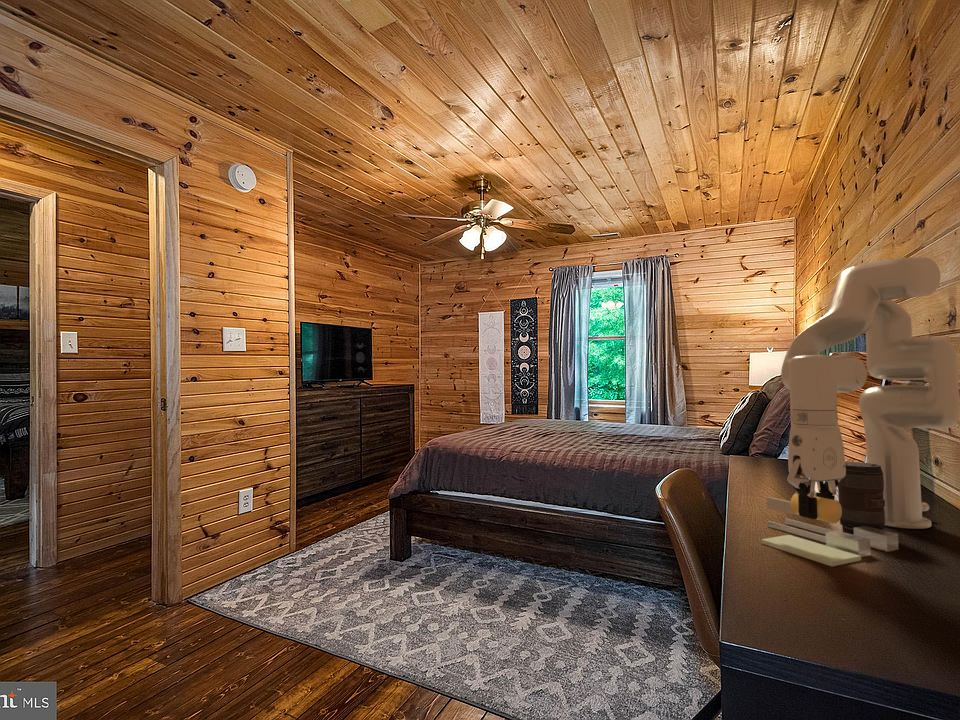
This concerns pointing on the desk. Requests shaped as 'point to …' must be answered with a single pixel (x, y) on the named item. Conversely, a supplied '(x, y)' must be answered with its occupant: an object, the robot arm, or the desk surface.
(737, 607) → the desk surface
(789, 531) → the housing
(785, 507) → the plug
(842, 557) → the mat
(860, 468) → the camera lens
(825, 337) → the robot arm
